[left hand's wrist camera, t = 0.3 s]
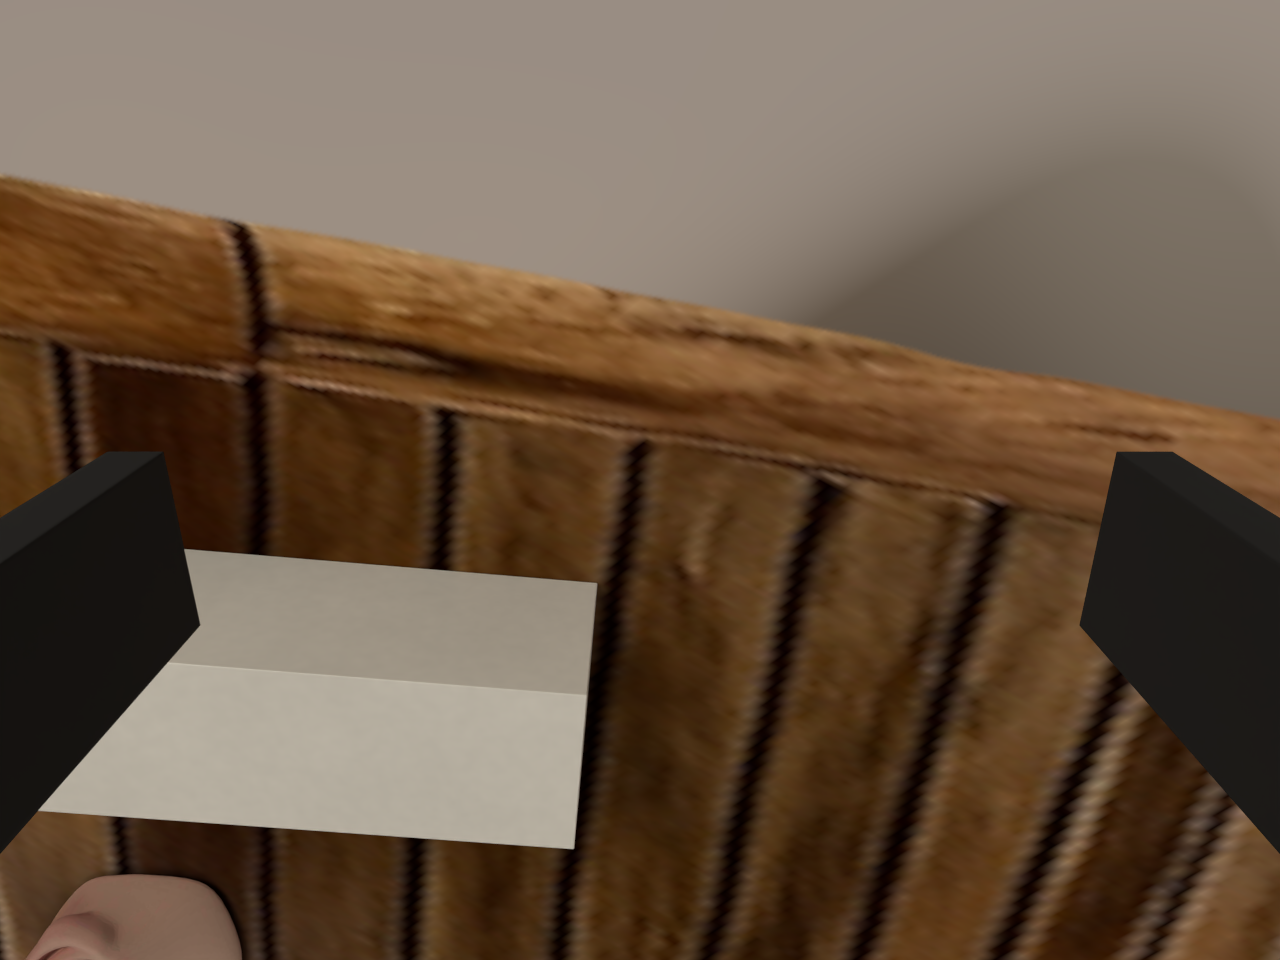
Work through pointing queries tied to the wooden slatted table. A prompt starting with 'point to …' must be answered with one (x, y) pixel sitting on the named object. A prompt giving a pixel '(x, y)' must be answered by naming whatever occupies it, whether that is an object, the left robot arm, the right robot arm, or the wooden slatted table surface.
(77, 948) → the anatomical model
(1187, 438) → the wooden slatted table surface
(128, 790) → the box
